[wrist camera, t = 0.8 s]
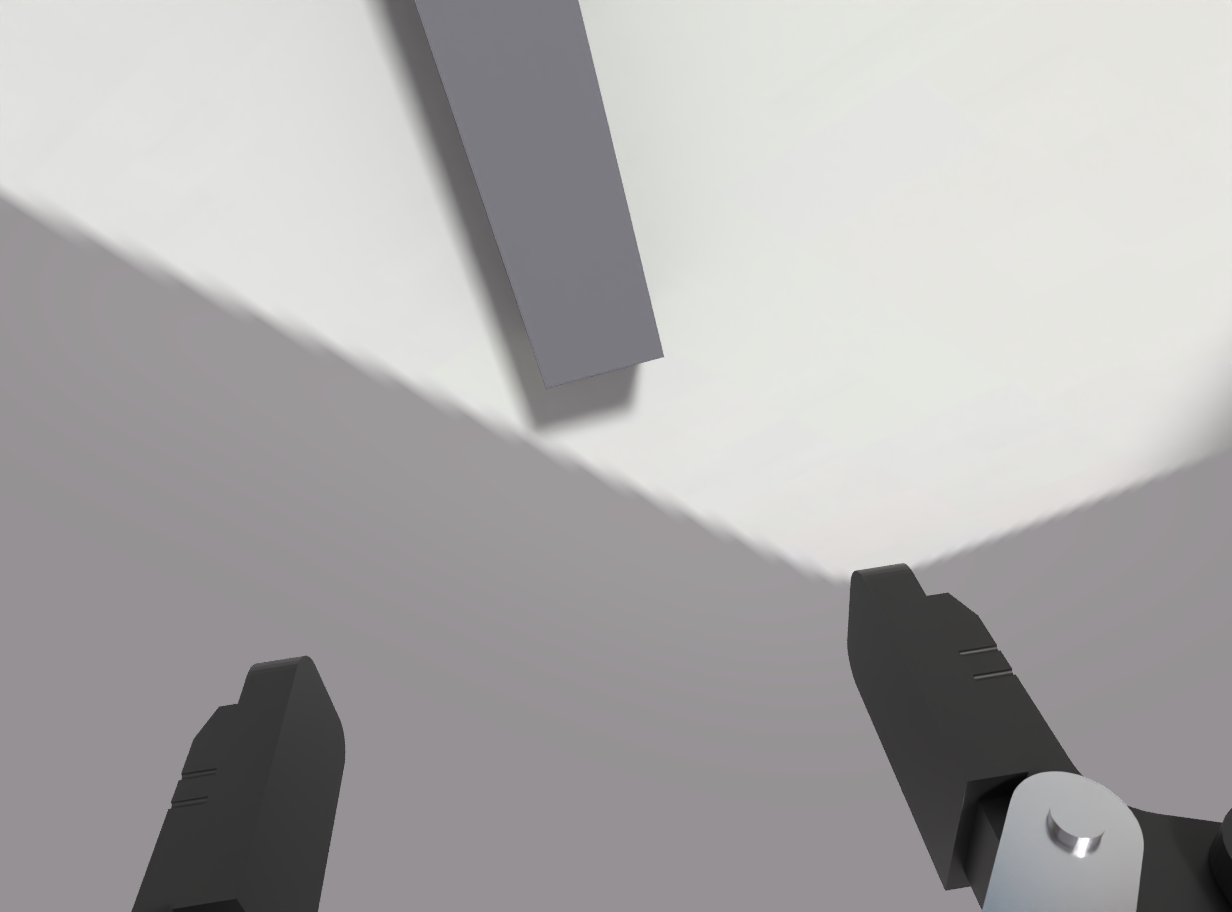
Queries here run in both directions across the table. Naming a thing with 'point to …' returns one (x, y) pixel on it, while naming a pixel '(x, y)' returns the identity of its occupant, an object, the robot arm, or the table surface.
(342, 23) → the table surface
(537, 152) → the bar
